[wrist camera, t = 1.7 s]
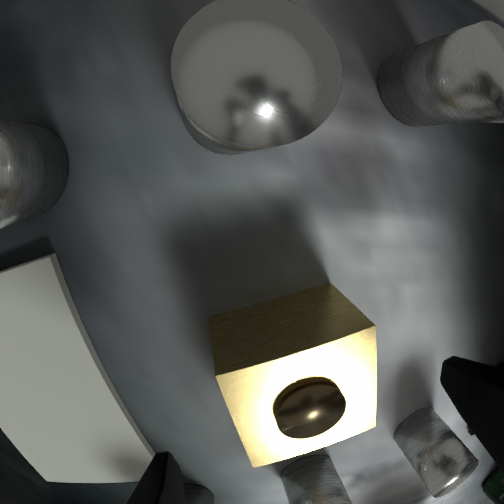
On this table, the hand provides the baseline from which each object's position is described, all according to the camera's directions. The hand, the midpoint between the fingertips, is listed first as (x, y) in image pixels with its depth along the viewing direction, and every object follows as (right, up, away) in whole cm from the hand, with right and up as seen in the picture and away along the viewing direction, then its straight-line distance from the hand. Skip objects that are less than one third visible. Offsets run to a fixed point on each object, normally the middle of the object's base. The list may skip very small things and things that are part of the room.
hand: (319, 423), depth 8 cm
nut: (-1, +1, +4) cm, 4 cm away
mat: (-11, -2, +3) cm, 12 cm away
